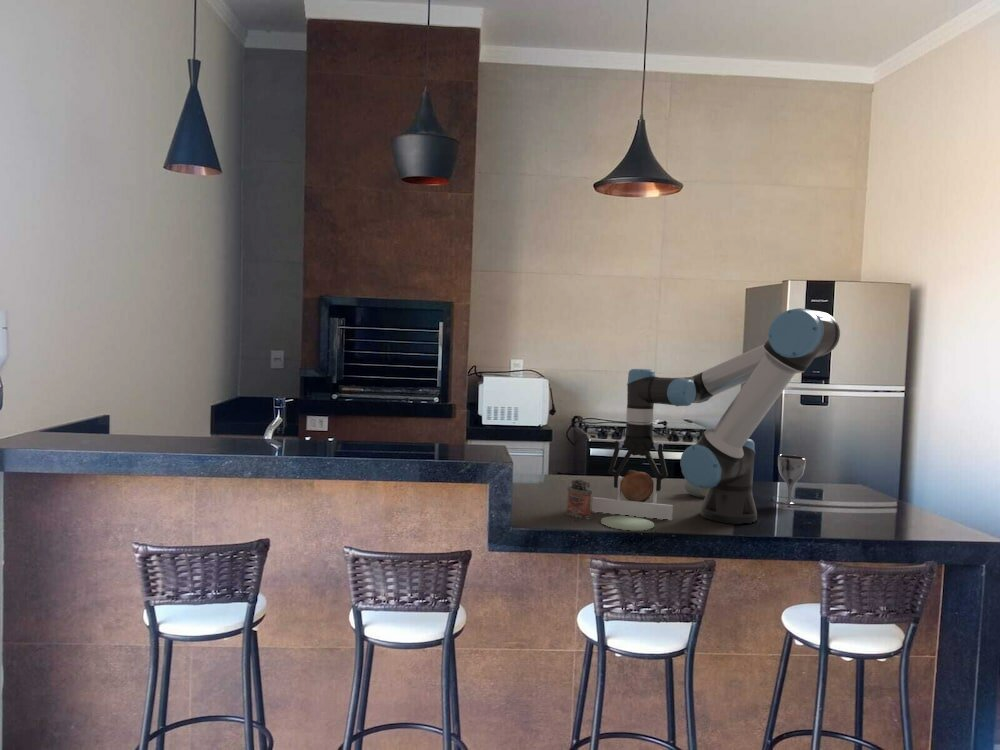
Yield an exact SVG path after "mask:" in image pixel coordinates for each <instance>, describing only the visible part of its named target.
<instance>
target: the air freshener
mask: <svg viewBox="0 0 1000 750" xmlns="http://www.w3.org/2000/svg"><path fill="white" fill-rule="evenodd" d="M708 489H709V488H697V487H695V486H693V485H691V484H690V483H689V482H688V481H687V480H685V482H684V490H685V491H686V492H687V493H688V494H689V495H691V496H693V497H696V498H700V497H701V499H702V498H703V499H705V497H706V494H707V492H708Z"/></svg>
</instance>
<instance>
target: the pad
mask: <svg viewBox="0 0 1000 750" xmlns="http://www.w3.org/2000/svg"><path fill="white" fill-rule="evenodd" d="M600 523H601V525H603V524H604V525H606V526H605V527H607V526H608V527H607V528H609V527H611V528H610V529H613V528H615V529H614V530H618V529H622V530H621V531H626V530H630V531H629V532H644V530H645V531H650V530H652V529H651V528H653V527H654V528H655V523H654V522H653V521H651V520H649V519H648V518H644V517H634V516H625V515H610V516H609V515H608V516H603V517H602V518H601V520H600ZM604 525H603V526H604ZM654 528H653V529H654ZM649 529H650V530H649Z"/></svg>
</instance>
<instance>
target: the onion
mask: <svg viewBox="0 0 1000 750" xmlns="http://www.w3.org/2000/svg"><path fill="white" fill-rule="evenodd" d="M653 488H654V479H653V478H652V476H650V474H648V473H647V472H643V471H637V470H633V469H629V470H627V471H626V473H625V474H624V477H622V481H621V495H623V498H625V499H626V500H627V501H637V502H647V501H648V500H649V499H650V498H651V495H653Z"/></svg>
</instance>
